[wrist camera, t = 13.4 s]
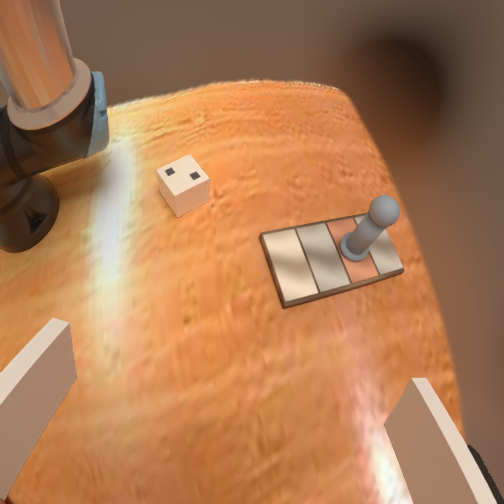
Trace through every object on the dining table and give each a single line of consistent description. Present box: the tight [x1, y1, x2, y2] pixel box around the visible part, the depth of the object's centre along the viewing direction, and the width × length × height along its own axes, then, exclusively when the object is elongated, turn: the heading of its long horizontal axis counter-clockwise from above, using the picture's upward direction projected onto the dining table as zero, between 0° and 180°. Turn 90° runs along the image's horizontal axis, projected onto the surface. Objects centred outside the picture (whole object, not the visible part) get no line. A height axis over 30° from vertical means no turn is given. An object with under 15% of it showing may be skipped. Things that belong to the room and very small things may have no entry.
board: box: [259, 213, 404, 309], centre depth 50 cm, size 12×22×2 cm, turn 106°
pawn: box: [339, 195, 400, 262], centre depth 44 cm, size 5×5×13 cm
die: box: [156, 154, 210, 218], centre depth 49 cm, size 6×6×6 cm
